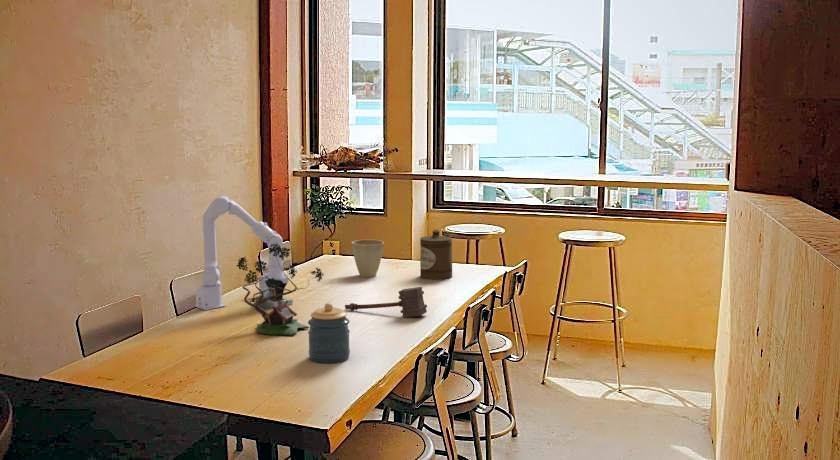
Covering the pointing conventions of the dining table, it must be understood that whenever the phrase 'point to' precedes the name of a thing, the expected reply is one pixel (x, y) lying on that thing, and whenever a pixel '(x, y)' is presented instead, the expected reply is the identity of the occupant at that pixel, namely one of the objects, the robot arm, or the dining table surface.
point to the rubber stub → (263, 305)
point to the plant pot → (367, 256)
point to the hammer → (401, 303)
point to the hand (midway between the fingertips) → (276, 298)
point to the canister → (328, 335)
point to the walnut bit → (275, 298)
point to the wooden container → (436, 256)
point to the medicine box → (263, 286)
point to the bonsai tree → (282, 315)
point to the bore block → (272, 303)
